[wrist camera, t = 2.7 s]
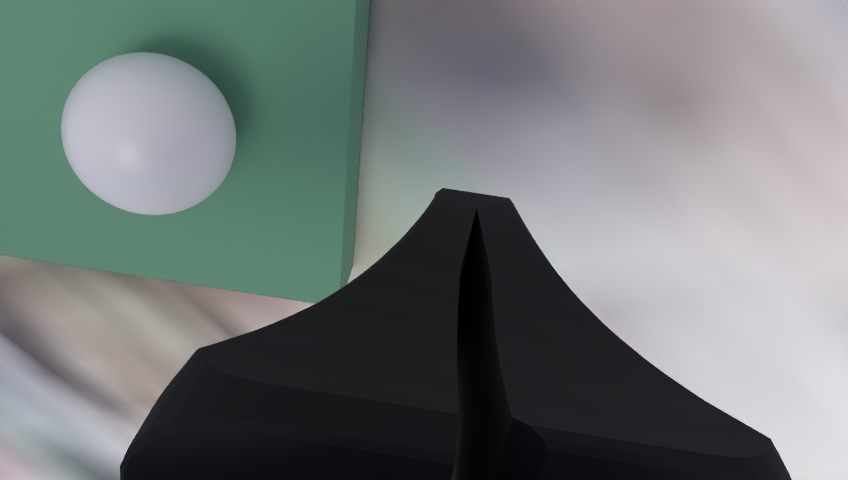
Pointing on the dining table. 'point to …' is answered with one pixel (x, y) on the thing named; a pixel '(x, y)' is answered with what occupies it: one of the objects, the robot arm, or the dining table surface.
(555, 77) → the dining table surface
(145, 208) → the ball
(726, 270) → the dining table surface
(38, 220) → the putting mat
